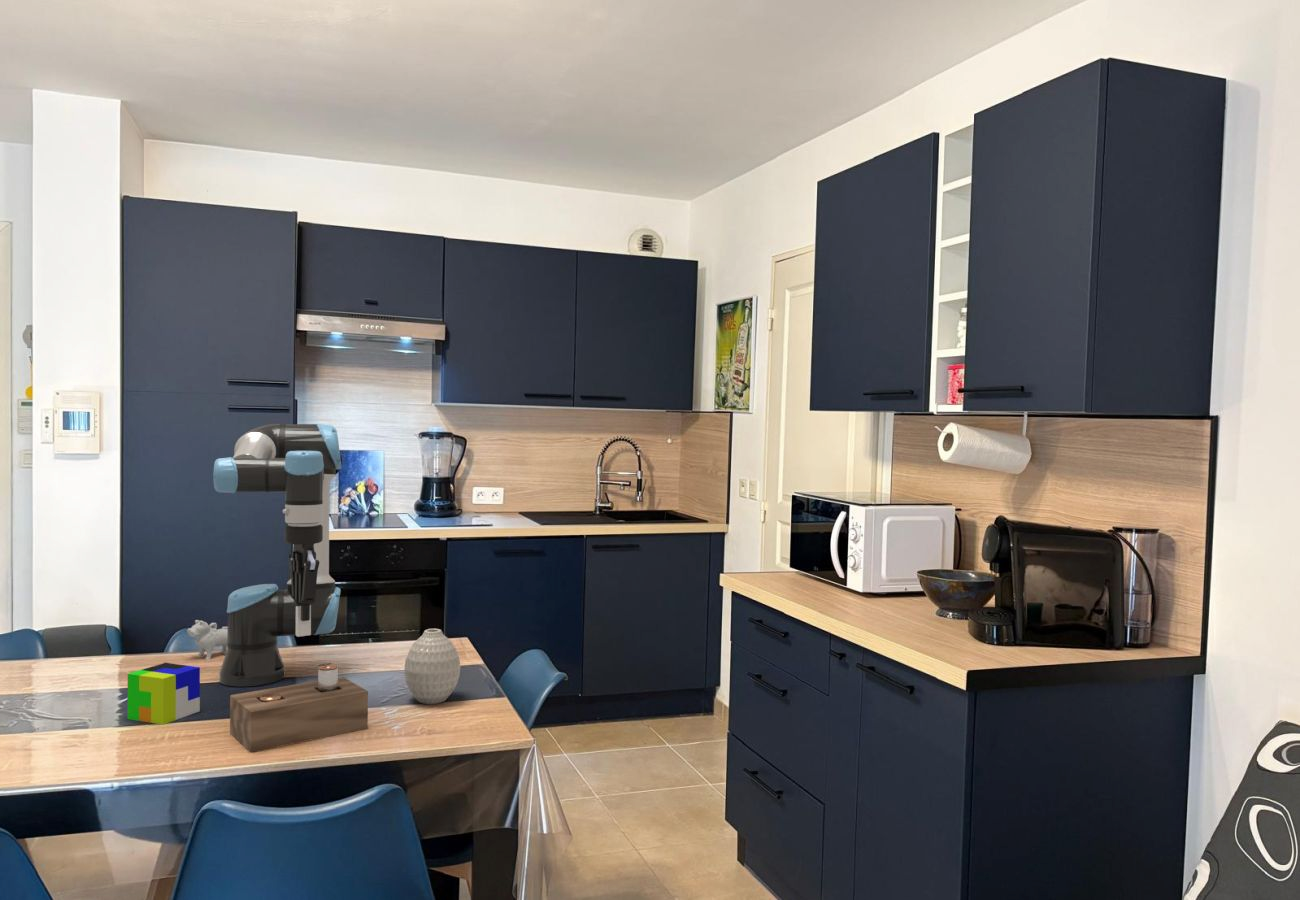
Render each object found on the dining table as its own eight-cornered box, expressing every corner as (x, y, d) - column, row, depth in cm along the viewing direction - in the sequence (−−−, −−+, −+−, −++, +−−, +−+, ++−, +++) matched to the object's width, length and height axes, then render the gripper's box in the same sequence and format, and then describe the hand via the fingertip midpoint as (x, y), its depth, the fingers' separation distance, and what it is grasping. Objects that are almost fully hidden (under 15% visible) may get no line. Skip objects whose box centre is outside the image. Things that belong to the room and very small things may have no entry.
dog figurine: (183, 659, 251) (182, 620, 250) (227, 650, 261) (227, 613, 261) (193, 663, 248) (193, 623, 247) (238, 653, 258) (238, 615, 258)
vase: (470, 697, 222) (471, 627, 221) (437, 711, 210) (437, 638, 209) (427, 689, 227) (428, 622, 226) (392, 703, 215) (393, 632, 215)
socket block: (230, 733, 193) (230, 695, 193) (342, 711, 209) (342, 676, 209) (250, 752, 183) (250, 712, 182) (367, 728, 198) (367, 691, 198)
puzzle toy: (199, 711, 208) (199, 667, 207) (163, 725, 198) (163, 678, 198) (165, 706, 211) (165, 662, 211) (127, 719, 201) (127, 673, 201)
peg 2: (315, 699, 200) (315, 664, 199) (333, 696, 202) (333, 662, 202) (322, 703, 197) (322, 668, 196) (340, 700, 199) (340, 665, 199)
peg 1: (257, 731, 192) (257, 696, 192) (277, 728, 195) (277, 692, 194) (263, 737, 189) (263, 700, 189) (283, 733, 192) (283, 697, 191)
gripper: (276, 521, 198) (275, 631, 198) (295, 528, 187) (294, 643, 188) (312, 520, 202) (311, 627, 203) (332, 526, 192) (331, 639, 193)
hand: (303, 635), depth 196 cm, fingers closed
